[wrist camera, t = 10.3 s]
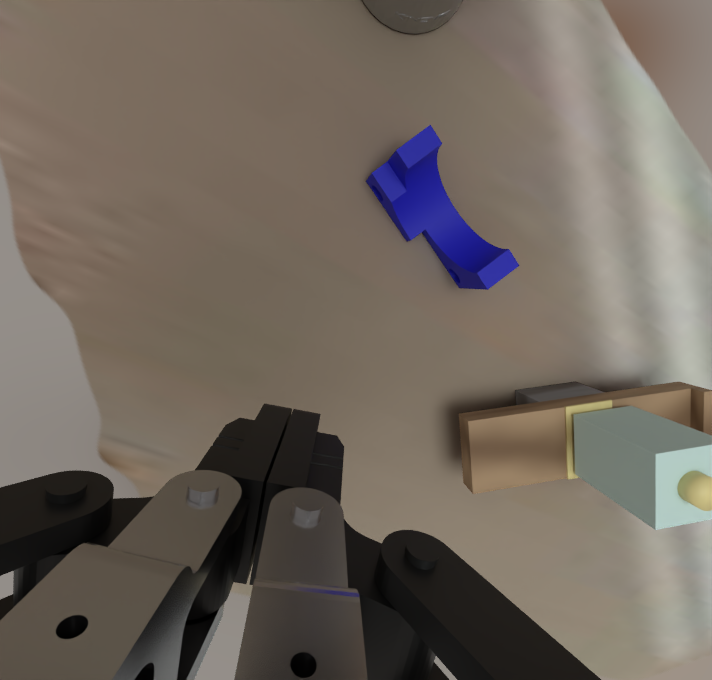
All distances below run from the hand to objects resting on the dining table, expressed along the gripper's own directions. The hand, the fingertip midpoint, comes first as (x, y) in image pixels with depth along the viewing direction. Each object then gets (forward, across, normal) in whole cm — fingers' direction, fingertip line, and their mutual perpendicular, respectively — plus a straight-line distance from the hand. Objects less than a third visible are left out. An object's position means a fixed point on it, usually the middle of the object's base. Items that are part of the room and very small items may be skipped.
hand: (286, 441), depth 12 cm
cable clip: (+29, -6, -7) cm, 30 cm away
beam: (+28, -22, +8) cm, 36 cm away
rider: (+22, -23, +6) cm, 32 cm away
